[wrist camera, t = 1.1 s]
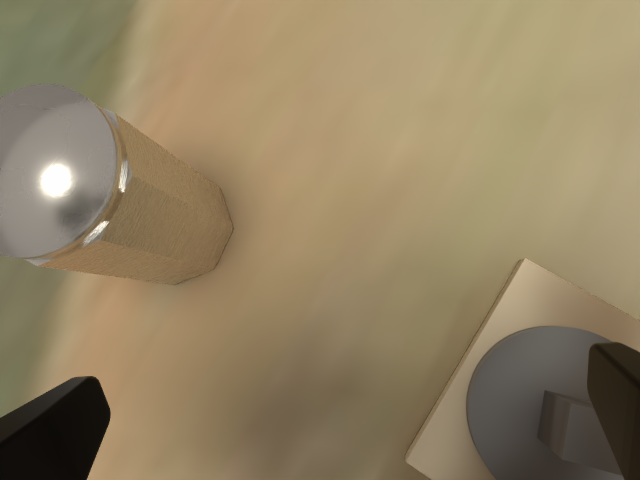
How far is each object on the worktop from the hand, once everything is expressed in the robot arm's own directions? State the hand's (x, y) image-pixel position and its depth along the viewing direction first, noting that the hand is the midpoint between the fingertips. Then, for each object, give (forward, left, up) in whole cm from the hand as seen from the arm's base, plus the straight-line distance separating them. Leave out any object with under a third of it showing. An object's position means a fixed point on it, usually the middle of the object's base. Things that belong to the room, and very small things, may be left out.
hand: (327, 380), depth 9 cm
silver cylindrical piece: (0, +11, -13) cm, 17 cm away
